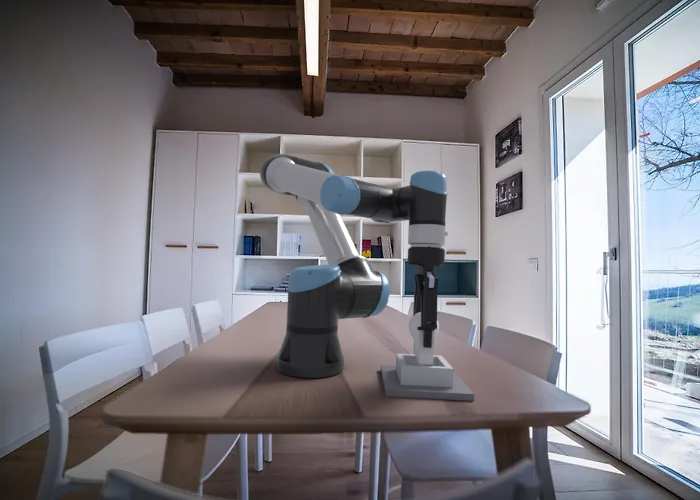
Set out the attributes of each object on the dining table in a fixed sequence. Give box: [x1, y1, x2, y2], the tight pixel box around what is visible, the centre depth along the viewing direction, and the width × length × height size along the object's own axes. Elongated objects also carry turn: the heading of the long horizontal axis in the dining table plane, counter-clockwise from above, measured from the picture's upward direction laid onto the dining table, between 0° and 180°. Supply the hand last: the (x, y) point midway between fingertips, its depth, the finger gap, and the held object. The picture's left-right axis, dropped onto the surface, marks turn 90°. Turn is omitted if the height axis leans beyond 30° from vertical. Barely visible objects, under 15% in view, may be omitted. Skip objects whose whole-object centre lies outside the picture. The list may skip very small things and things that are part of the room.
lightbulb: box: [408, 312, 440, 366], centre depth 73 cm, size 6×6×11 cm
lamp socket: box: [380, 353, 475, 402], centre depth 72 cm, size 16×16×5 cm
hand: (422, 358), depth 73 cm, fingers closed on lightbulb, 6 cm apart
